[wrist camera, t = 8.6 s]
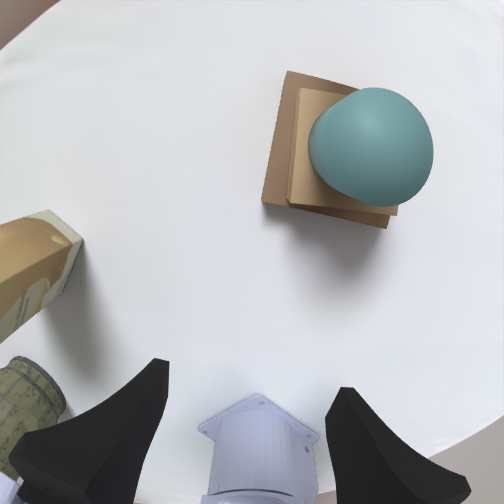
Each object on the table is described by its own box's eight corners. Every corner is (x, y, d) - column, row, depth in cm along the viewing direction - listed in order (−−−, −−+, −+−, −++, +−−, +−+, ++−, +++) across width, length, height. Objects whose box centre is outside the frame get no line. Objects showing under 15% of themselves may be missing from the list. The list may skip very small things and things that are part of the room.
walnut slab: (395, 112, 17) (410, 108, 15) (373, 221, 20) (386, 229, 17) (284, 80, 17) (287, 70, 15) (261, 196, 19) (261, 201, 17)
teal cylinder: (409, 158, 14) (450, 160, 10) (347, 212, 15) (375, 231, 11) (355, 86, 13) (385, 66, 9) (288, 141, 14) (298, 135, 10)
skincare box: (62, 295, 21) (-30, 379, 10) (28, 265, 21) (-69, 331, 9) (86, 235, 20) (-34, 307, 8) (49, 204, 19) (-74, 250, 7)
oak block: (391, 114, 15) (407, 109, 13) (381, 209, 17) (396, 215, 15) (295, 96, 15) (300, 87, 13) (286, 197, 17) (290, 203, 15)
